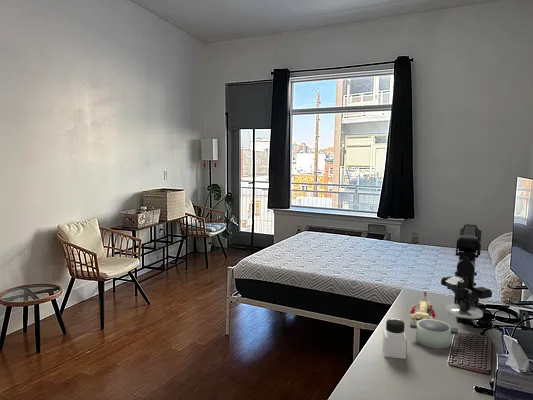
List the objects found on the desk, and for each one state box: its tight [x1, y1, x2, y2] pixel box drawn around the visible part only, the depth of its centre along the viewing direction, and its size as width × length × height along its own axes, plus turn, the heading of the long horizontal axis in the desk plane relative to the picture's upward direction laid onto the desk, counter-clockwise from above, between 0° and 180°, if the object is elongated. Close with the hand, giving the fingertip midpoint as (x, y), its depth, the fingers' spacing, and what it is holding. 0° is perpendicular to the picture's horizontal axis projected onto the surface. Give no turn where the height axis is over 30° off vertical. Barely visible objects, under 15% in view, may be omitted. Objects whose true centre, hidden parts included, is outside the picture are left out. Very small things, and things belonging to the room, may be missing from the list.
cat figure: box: [409, 291, 436, 323], centre depth 171 cm, size 10×9×25 cm
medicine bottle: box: [382, 317, 408, 360], centre depth 139 cm, size 7×7×12 cm
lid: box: [445, 299, 484, 320], centre depth 153 cm, size 13×13×5 cm
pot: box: [409, 318, 459, 350], centre depth 148 cm, size 12×16×6 cm
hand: (464, 308), depth 154 cm, fingers closed on lid, 3 cm apart
